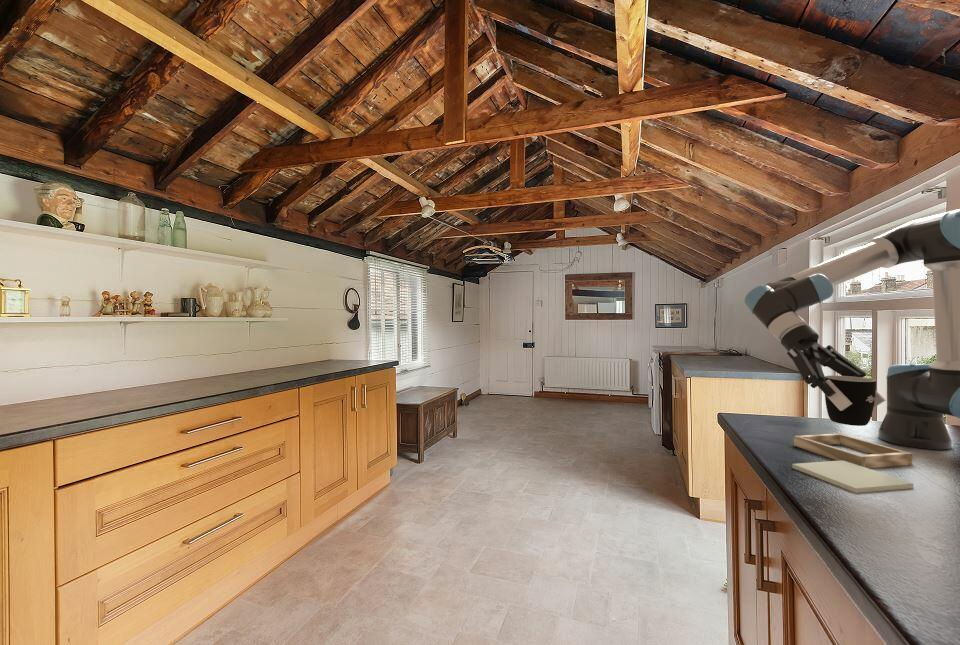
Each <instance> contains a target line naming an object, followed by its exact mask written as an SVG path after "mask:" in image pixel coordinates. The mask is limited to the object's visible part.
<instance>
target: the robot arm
mask: <svg viewBox="0 0 960 645" xmlns="http://www.w3.org/2000/svg"><path fill="white" fill-rule="evenodd" d="M916 261H917V262H918V261H923V266H924V267H926V268H927V269H928V270H930V271H931V273H932V292H933V293H932V294H933V308H934V309H933V310H934V311H933V312H934V327H935V328H934V329H935V330H934V331H935V333H934V334H935V349H936V360H935V361H933V362H931V363H930V364H929V363H928V364H925V363H924V364H923V363H921V364H920V363H918V364H913V363H912V364H911V363H909V364H908V363H907V364H902V363H901V364H891V365H889V367H888V368H887V372H886V373H887V375H886V378H885V379H886V398H885V397H883V395H881V394H880V393H879V391H877V390H876V394H875V402H874V407H873V408H876V407H878V406H879V405H881V404H882V403H884V402H885V401H886V413H885V416H884V417H883V419H882V422H881V424H880V427H879V428H878V438H879V439H880V440H883V441H885V442H888V443H892V444H894V445H895V444H896V445H900V446H905V447H911V448H918V449H925V450H936V451H940V450H942V451H943V450H950V449H952V445H953V444H952V438H951V436H950V434H949V431H948V429H947V426H946V423H945V421H944V415H946V416H947V415H948V416H950V417H955V418H957V419H960V208H959V209H953V210H949V211H946V212H941V213H937V214H933V215H931V216H926V217H921V218H917V219H915V220H914V219H913V220H910V221H908V222H906V223H904V224H902V225H900V226H898V227H896V228H893V229H892V230H889V231H887V232H885V233H883V234H880V235H877V236H875V237H873V238H872V239H869V241H868V242H867V244H866V245H865V244H864V245H863V246H860V247H858V248H855V249H853V250H850V251H848V252H846V253H843V254H840V255H839V256H836V257H834V258H831V259H828V260H826V261H824V262H821V263H819V264H816V265H813V266H811V267H808V268H807V269H803V270H802V271H801V270H800V271H799V272H796V273H794V274H791V275H789V276H786V277H784V278H782V279H779V280H777V281H774V282H768V283H764V284H762V285H758V286H755V287H754V288H752V289H751V290H750V291H748V292H747V294H746V295H745V297H744V304H745V305H746V307H747V309H749V311H750V312H751V314H752V315H754V316H755V317H756V318H757V319H758V320H759V322H761V323H762V325H763V326H765V328H766V329H767V330H768V331H769V332H770V333H771V334H772V336H773V338H776V339H777V341H779V342H780V344H781V345H782V346H783V347H784V348H785V349H786V351H787V352H786V354H787V355H788V356H789V358H790V359H792V361H793V363H794V365H795V366H796V368H797V370H798V371H799V374H800V375H801V377H802V378H803V380H804V382H805V383H806V384H807V385H809V386H810V387H811V388H813V389H815V388H817V387H818V389H820V391H821V392H822V393H823V394H824V396H825V395H826V396H827V397H828V398H829V399H830V400H831V401H832V402H833V403H834V405H835V406H836V407H837V408H838V409H839V410H840V411H843V410H844V409H845V408H847V407H848V406H850V405H851V404H852V403H851V402H850V401H849V399H848V398H847V397H846V396H845V395H844V394H843V393H842V392H841V391H840V390H839V389H838V388H837V387H836V386H835V385H834V384H833V383H832V382H831V381H830V380H827V381H825V380H826V379H825V376H826V375H825V373H824V371H823V369H822V366H823V367H827V368H828V369H831V370H832V371H834V373H837V374H839V376H852V377H862V378H866V376H867V373H866V372H865V371H864V370H862V369H861V368H860V367H859V366H857V365H856V364H854V362H852V361H850V360H849V359H848V358H846V357H845V356H844V355H842V354H841V353H839V352H838V351H837V350H836V349H835V348H834V347H833V346H832V345H831V344H828V345H827V346H825V347H824V346H823V345H821V344H820V343H819V342H818V340H819V337H820V336H819V333H817V332H816V330H815V329H813V327H811V326H810V325H808V322H806V321H805V320H804V318H802V317H801V316H800V315H799V314H798V313H797V312H799V311H800V310H803V309H806V308H809V307H811V306H814V305H817V304H820V303H822V302H825V301H826V300H828V299H831V297H832V296H833V294H834V286H837V285H840V284H842V283H844V282H847V281H850V280H851V279H855V278H857V277H860V276H863V275H865V274H867V273H869V272H872V271H875V270H877V269H880V268H882V269H883V268H884V269H888V268H892V267H894V266H897V265H900V264H905V263H909V262H910V263H911V262H916Z"/></svg>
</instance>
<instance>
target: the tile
mask: <svg viewBox="0 0 960 645" xmlns="http://www.w3.org/2000/svg"><path fill="white" fill-rule="evenodd" d="M791 465H792V467H791V468H792V469H794V470H796V471H799V472H802V473H805V474H807V475H809V476H812V477H815V478H817V479H819V480H822V481H824V482H828V483H829V484H832V485H835V486H837V487H840V488H843V489H845V490H847V491H850V492H852V493H855V494H859V493H861V494H862V493H869V492H870V493H873V492H883V491H893V490H894V491H895V490H896V491H897V490H906V489H908V490H909V489H914V485H915V484H914V482H910V481H908V480H907V481H906V480H904V479H900V478H898V477H895V476H892V475H889V474H886V473H883V472H881V471H878V470H875V469H873V468H866V467H862V466H859V465H856V464H853V463H850V462H847V461H844V460H840V461H838V460H831V461H829V460H828V461H816V462H814V461H813V462H801V463H798V462H797V463H792V464H791Z"/></svg>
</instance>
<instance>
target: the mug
mask: <svg viewBox="0 0 960 645" xmlns="http://www.w3.org/2000/svg"><path fill="white" fill-rule="evenodd" d="M824 376H825V379H826V380H825V381H827V380H830V381H831V382H832V383H833V384H834V385H835V386H836V387H837V388H838V389H839V390H840V391H841V392H842V393H843V394H844V395H845V396H846V397H847V398H848V399H849V401H850V402H851V403H852V404H851V405H850V406H848V407H847V408H845V409H844V410H843V411H840V410H839V409H838V408H837V407H836V406H835V405H834V403H833V402H832V401H831V400H830V399H829V398H828V397H827V396H826V395H825V394H824V399H825V400H824V401H825V406H826V412H827V415H828V417H829V419H830V421H831V422H834V423H837V424H841V425H846V426H854V427H855V426H856V427H863V426H867V425H868V424H869V422H870V421H871V419H872V415H873V411H874V408H875V407H874V402H875V394H876V391H877V380H876V379H874V378H868V377H863V378H862V377H852V376H842V375H824Z"/></svg>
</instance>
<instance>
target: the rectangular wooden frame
mask: <svg viewBox="0 0 960 645" xmlns="http://www.w3.org/2000/svg"><path fill="white" fill-rule="evenodd" d="M831 444H838V445H840V444H841V445H840V446H843V445H844V447H847V446H848V448H850V447H851V449H854V448H855V449H854V450H857V449H858V450H857V451H860V450H861V451H860V452H864V453H868V454H857V453H855V452H851V451H848V450H846V449H842V448H838V447H835V446H833V445H831ZM793 446H794V447H796V446H797V448H801V449H803V450H806V451H808V452H812V453H814V454H816V455H817V454H818V455H820V456H824V457H826V458H829V459H832V460H834V461H840V460H844V461H847V462H850V463H853V464H856V465H859V466H862V467H866V468H869V469H873V468H884V467H896V466H909V465H910V466H911V465H912V466H913V453H911V452H909V451H905V450H901V449H897V448H894V447H889V446H886V445H883V444H879V443H875V442H871V441H869V440H865V439H862V438H858V437H857V438H856V437H853V436H850V435H846V434H842V433H839V432H838V433H824V434H822V433H821V434H808V435H807V434H806V435H794V436H793ZM870 453H871V454H870Z"/></svg>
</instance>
